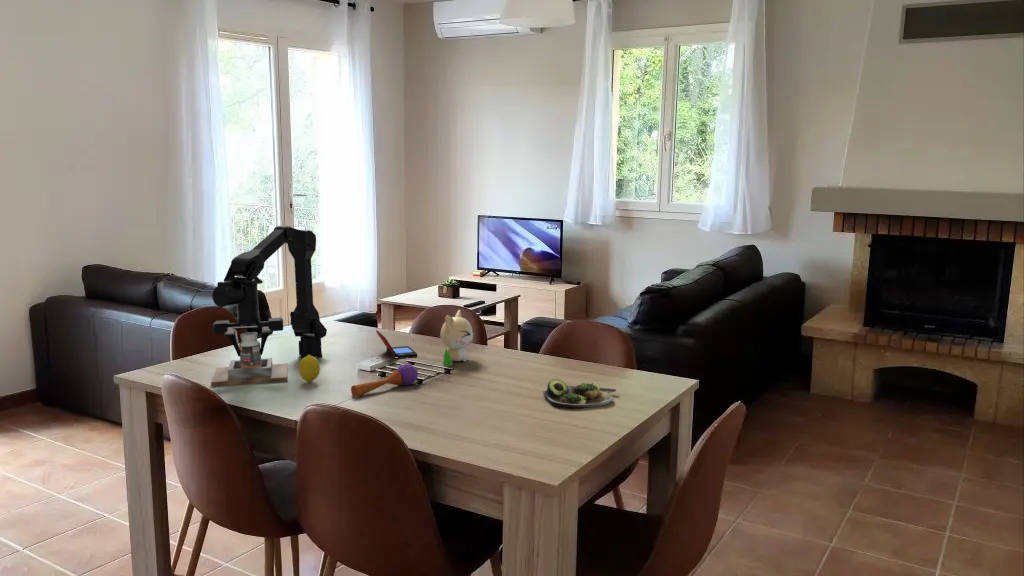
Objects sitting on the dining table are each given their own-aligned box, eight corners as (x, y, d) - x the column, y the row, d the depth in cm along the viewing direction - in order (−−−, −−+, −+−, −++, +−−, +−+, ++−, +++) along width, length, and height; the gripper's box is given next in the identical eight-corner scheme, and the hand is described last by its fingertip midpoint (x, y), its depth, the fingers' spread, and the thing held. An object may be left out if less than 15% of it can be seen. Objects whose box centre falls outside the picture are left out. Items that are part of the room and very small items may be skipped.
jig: (287, 367, 240) (287, 355, 239) (287, 381, 225) (286, 368, 224) (216, 371, 235) (216, 359, 234) (211, 386, 219) (210, 373, 219)
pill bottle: (236, 369, 228) (233, 335, 226) (249, 364, 233) (247, 330, 231) (253, 371, 226) (250, 336, 224) (266, 365, 231) (263, 332, 229)
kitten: (462, 368, 239) (462, 318, 237) (431, 365, 242) (430, 316, 240) (480, 356, 253) (480, 309, 251) (451, 354, 256) (450, 307, 254)
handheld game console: (418, 357, 253) (418, 334, 251) (384, 360, 249) (383, 337, 248) (408, 349, 264) (408, 326, 263) (376, 351, 260) (375, 329, 259)
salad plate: (605, 387, 220) (606, 371, 219) (629, 407, 203) (629, 389, 202) (537, 392, 216) (537, 375, 215) (555, 412, 198) (555, 394, 198)
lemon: (324, 381, 224) (323, 353, 223) (311, 386, 220) (310, 357, 218) (308, 379, 227) (307, 351, 226) (295, 384, 222) (294, 355, 221)
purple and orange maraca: (346, 380, 212) (406, 361, 225) (350, 402, 212) (411, 382, 226) (358, 380, 207) (419, 361, 221) (363, 403, 208) (423, 382, 221)
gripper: (282, 295, 236) (284, 347, 239) (214, 298, 232) (218, 351, 234) (281, 301, 226) (284, 355, 228) (211, 304, 221) (214, 360, 223)
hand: (250, 355), depth 229 cm, fingers closed on pill bottle, 6 cm apart
